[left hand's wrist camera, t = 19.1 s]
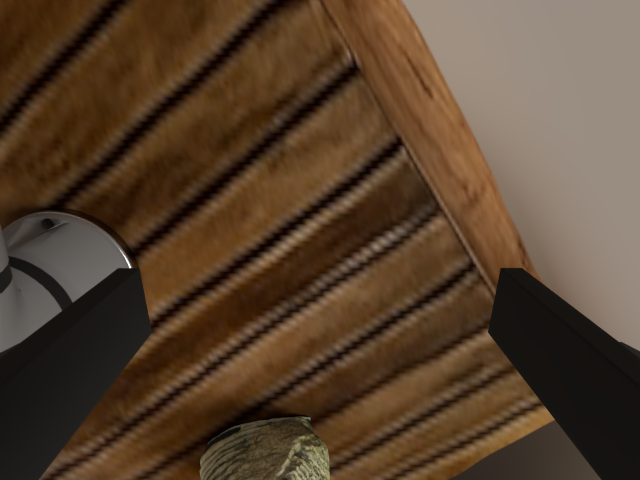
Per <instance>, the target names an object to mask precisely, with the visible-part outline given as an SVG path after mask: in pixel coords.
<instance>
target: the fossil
mask: <svg viewBox="0 0 640 480" xmlns="http://www.w3.org/2000/svg"><path fill="white" fill-rule="evenodd" d="M312 429H313V428H312V426H311V423H310V418H309V417H299V416H298V417H286V418H275V419H270V420H259V421H255V422H250V423H246V424H241V425H238V426H235V427H232V428H230V429H228V430H226V431H225V432H223V433H221V434H220V435H219V436H217V437H215V438H213V439H212V440H211V441H210V442H209V443H208V445H207V448H206V450H205V452H204V453H203V455H202V456H201V457H200V465H201V469H200V476H201V480H329V479H330V472H329V454H328V448H327V446H326V444H325V443H324V441H322V440H321V439H320V438H319V437H318V436H317V435H316V434H315V433H314V432H313V430H312Z"/></svg>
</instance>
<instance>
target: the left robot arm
mask: <svg viewBox="0 0 640 480" xmlns="http://www.w3.org/2000/svg"><path fill="white" fill-rule="evenodd" d="M151 333H152V330H151V325H150V320H149V315H148V310H147V305H146V300H145V295H144V290H143V285H142V280H141V275H140V270H139V267H138V264H137V261H136V259H135V257H134V255H133V253H132V251H131V250H130V248H129V247H128V245H127V244H126V243H125V241H124V240H123V239H122V238H121V237H120V236H119V235H118V234H117V233H116V232H115V231H114V230H112V229H111V228H110V227H109V226H107V225H106V224H104V223H103V222H101V221H99V220H98V219H96V218H94V217H91V216H89V215H87V214H84V213H81V212H77V211H73V210H67V209H47V210H42V211H38V212H35V213H32V214H29V215H26V216H24V217H21V218H19V219H17V220H16V221H14V222H12V223H11V224H10V225H8V226H7V227H5V228H4V229H3V230H2V228H1V224H0V480H39V479H40V477H41V476H42V475H43V473H44V472H45V471H46V469H47V468H48V467H49V466H50V464H51V463H52V462H53V460H54V459H55V458H56V456H57V455H58V454H59V453H60V451H61V450H62V449H63V447H64V446H65V445H66V443H67V442H68V441H69V440H70V438H71V437H72V436H73V434H74V433H75V432H76V430H77V429H78V428H79V427H80V425H81V424H82V423H83V421H84V420H85V419H86V417H87V416H88V415H89V414H90V412H91V411H92V410H93V408H94V407H95V406H96V404H97V403H98V402H99V401H100V399H101V398H102V397H103V395H104V394H105V393H106V391H107V390H108V389H109V388H110V386H111V385H112V384H113V382H114V381H115V380H116V379H117V377H118V376H119V375H120V373H121V372H122V371H123V369H124V368H125V367H126V366H127V364H128V363H129V362H130V360H131V359H132V358H133V356H134V355H135V354H136V353H137V351H138V350H139V349H140V347H141V346H142V345H143V343H144V342H145V341H146V340H147V338H148V337H149V336H150V334H151ZM488 333H489V334H490V336H491V337H492V338H493V340H494V341H495V342H496V343H497V345H498V346H499V347H500V349H501V350H502V351H503V353H504V354H505V355H506V356H507V358H508V359H509V360H510V362H511V363H512V364H513V366H514V367H515V368H516V369H517V371H518V372H519V373H520V375H521V376H522V377H523V379H524V380H525V381H526V382H527V384H528V385H529V386H530V388H531V389H532V390H533V391H534V393H535V394H536V395H537V397H538V398H539V399H540V401H541V402H542V403H543V404H544V406H545V407H546V408H547V410H548V411H549V412H550V414H551V415H552V416H553V417H554V419H555V420H556V421H557V423H558V424H559V425H560V426H561V428H562V429H563V430H564V432H565V433H566V434H567V436H568V437H569V438H570V440H571V441H572V442H573V443H574V445H575V446H576V447H577V449H578V450H579V451H580V452H581V454H582V455H583V456H584V458H585V459H586V460H587V462H588V463H589V464H590V466H591V467H592V468H593V469H594V471H595V472H596V473H597V475H598V476H599V477H600V478H601V480H640V351H638V350H636V349H634V348H632V347H630V346H628V345H626V344H624V343H623V342H618V341H617V340H615V339H614V338H613V337H612V336H610V335H609V334H608V333H606V332H605V331H604V330H602V329H601V328H600V327H598V326H597V325H596V324H595V323H593V322H592V321H591V320H589V319H588V318H587V317H585V316H584V315H583V314H581V313H580V312H579V311H577V310H576V309H575V308H574V307H572V306H571V305H570V304H568V303H567V302H566V301H564V300H563V299H562V298H560V297H559V296H558V295H557V294H555V293H554V292H553V291H551V290H550V289H549V288H547V287H546V286H545V285H543V284H542V283H541V282H539V281H538V280H537V279H536V278H534V277H533V276H532V275H530V274H529V273H528V272H526V271H525V270H524V269H522V268H501V270H500V275H499V280H498V285H497V290H496V295H495V300H494V305H493V310H492V315H491V320H490V325H489V330H488Z"/></svg>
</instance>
